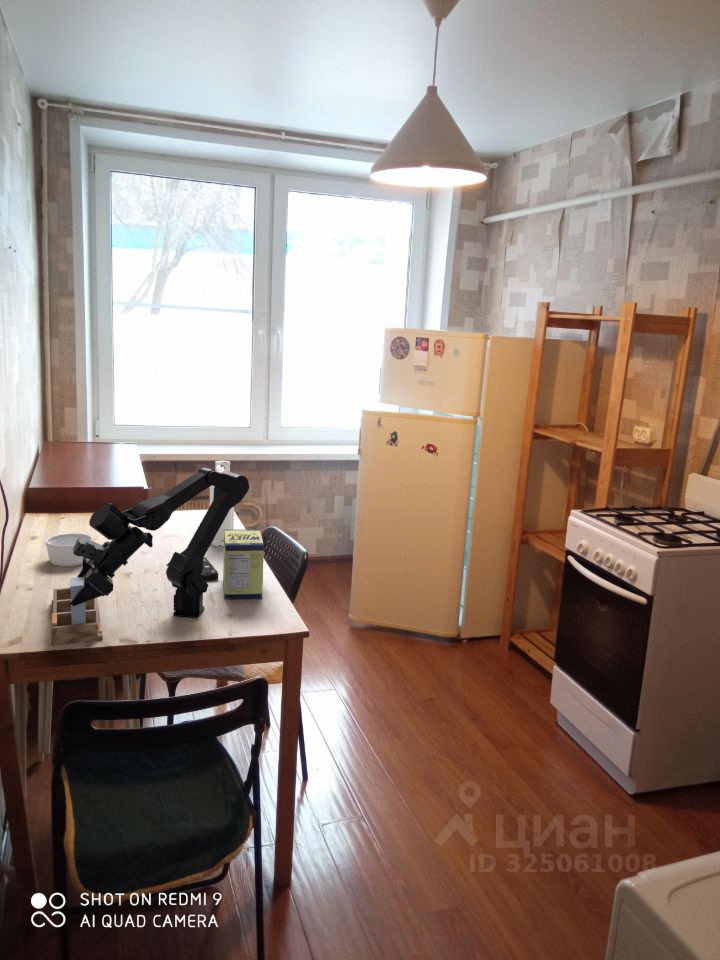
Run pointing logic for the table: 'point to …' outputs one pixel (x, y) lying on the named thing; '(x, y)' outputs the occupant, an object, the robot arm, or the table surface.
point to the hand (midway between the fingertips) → (71, 597)
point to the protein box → (243, 564)
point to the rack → (62, 620)
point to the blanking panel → (79, 610)
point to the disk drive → (208, 571)
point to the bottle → (229, 519)
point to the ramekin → (64, 549)
